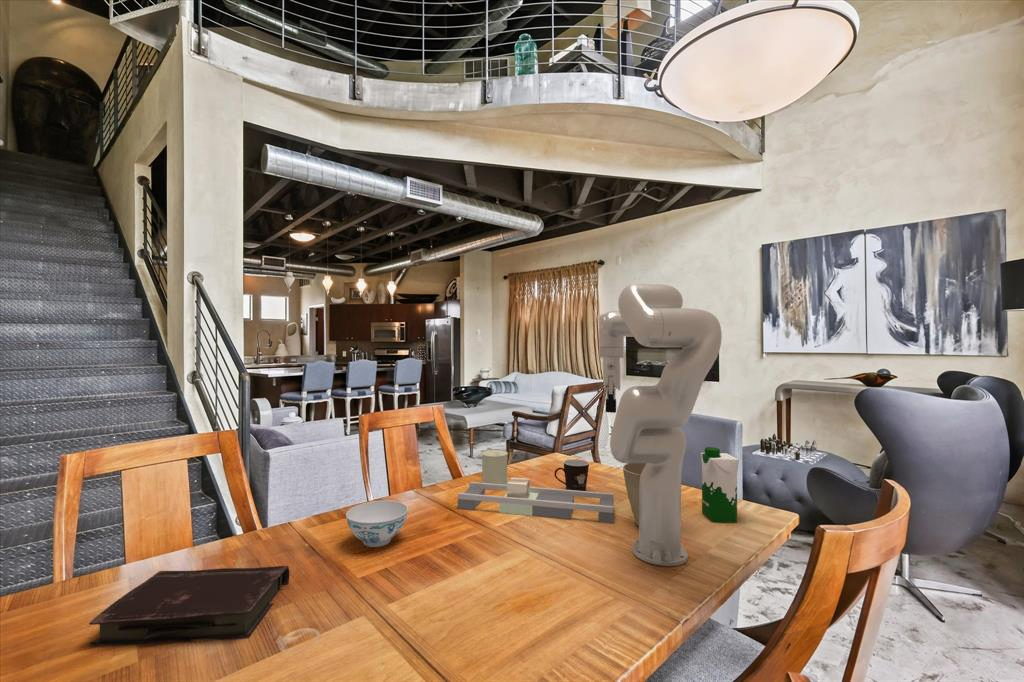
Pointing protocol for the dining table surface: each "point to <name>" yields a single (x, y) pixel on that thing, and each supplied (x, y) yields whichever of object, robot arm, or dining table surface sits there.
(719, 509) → the milk carton
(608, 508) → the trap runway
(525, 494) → the block
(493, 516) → the dining table surface
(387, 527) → the chinaware
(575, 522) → the dining table surface
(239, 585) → the diary
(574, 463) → the coffee mug
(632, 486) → the plant pot
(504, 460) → the can
